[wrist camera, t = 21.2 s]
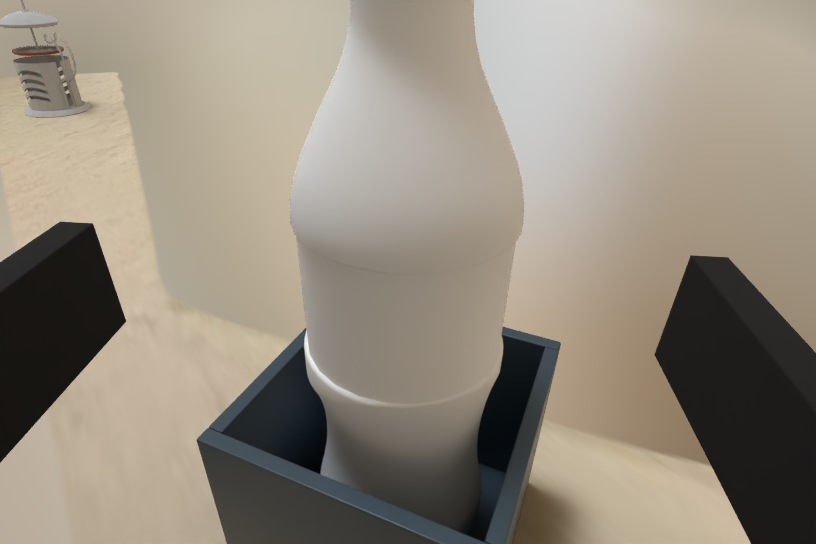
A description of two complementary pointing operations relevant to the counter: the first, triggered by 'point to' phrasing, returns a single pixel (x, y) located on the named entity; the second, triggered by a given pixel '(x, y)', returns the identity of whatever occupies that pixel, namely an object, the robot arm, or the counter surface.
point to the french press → (45, 70)
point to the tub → (343, 505)
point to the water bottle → (407, 255)
